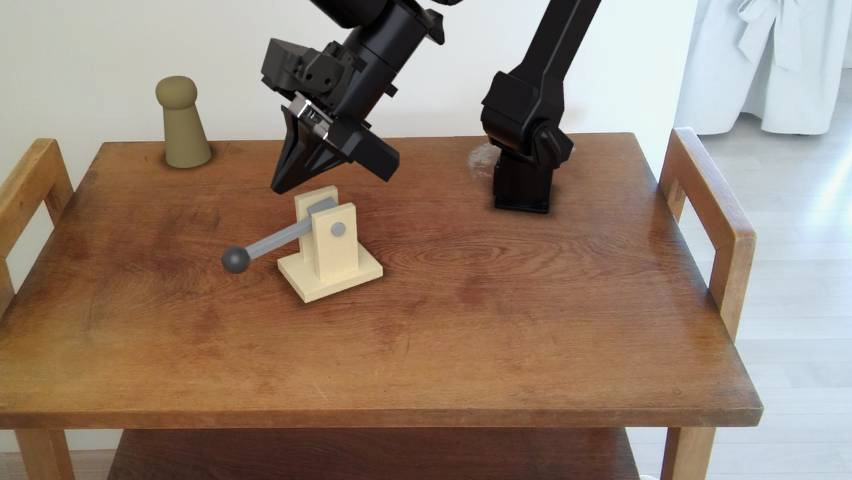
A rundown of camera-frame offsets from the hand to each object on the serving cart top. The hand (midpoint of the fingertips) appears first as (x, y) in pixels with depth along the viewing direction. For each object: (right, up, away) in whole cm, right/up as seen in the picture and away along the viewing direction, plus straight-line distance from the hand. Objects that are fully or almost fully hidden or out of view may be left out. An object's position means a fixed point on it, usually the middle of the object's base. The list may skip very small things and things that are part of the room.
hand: (275, 191), depth 73 cm
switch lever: (0, -5, +4) cm, 7 cm away
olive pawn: (-16, +8, +31) cm, 35 cm away
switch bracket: (+5, -8, +9) cm, 12 cm away
